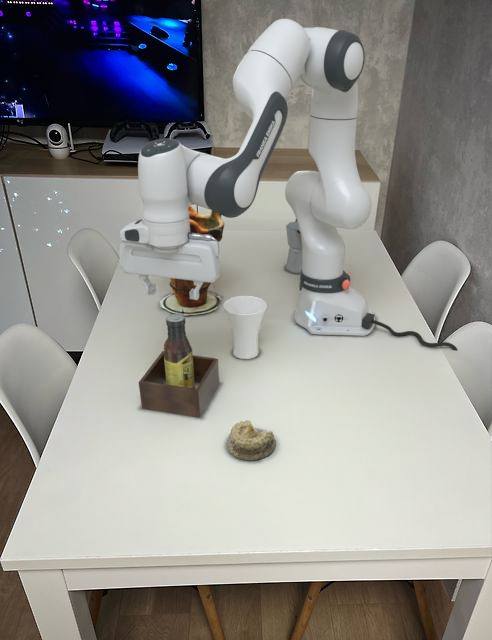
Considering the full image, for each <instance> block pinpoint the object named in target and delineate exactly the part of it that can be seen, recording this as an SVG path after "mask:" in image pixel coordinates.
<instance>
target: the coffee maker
mask: <svg viewBox="0 0 492 640" xmlns="http://www.w3.org/2000/svg"><path fill="white" fill-rule="evenodd" d="M285 230H286V239H287V245H288V247H289V248H288V253H287V259H286V264H285V271H287V272H288V273H291V274H298V275H300V271H301V269H302V239H301V234H300V230H299V226H298V223H297V219H296V218H295V220H294V221H290V222H288V223H287V224H285Z"/></svg>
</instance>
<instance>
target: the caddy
mask: <svg viewBox="0 0 492 640" xmlns="http://www.w3.org/2000/svg"><path fill="white" fill-rule="evenodd" d="M193 367H194V383H195V384H196V383H198V385H197V386H196V387H195V389H194V388H187V387H180V386H173V385H167V384H166V373H165V362H164V350H162V351H161V352H160V353H159V355H157V358H156V359H155V360H154V362H152V364H151V366H150V367H149V368H148V369H147V370H146V372H145V373H144V374H143V376H142V377H141V378H140V380H139V381H138V389H139V397H140V403H141V409H142V410H149V411H155V412H161V413H168V414H173V415H180V416H187V417H193V418H202V415H203V414H204V412H205V410H206V408H207V407H208V405H209V403H210V401H211V399H212V398H213V397H214V394H215V392H216V391H217V389H218V387H219V386H220V374H219V373H220V371H219V370H220V369H219V368H220V367H219V358H215V357H208V356H201V355H196V354H195V355H194V354H193Z"/></svg>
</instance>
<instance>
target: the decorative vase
mask: <svg viewBox="0 0 492 640" xmlns="http://www.w3.org/2000/svg"><path fill="white" fill-rule="evenodd" d="M188 210H189V219H190V233H198V234H203V235H205V234H208V235H211V236H212V237H213V238H215V239H216V240H217V241H218V242H219V243H220V242H221V241H222V240H223V234H224V229H225V222H224V221H223V219H222V215H220V214H218V213H216V212H214V211H212V210H210V213H205V214H202V213H198V212H197V211H196V209H194V208H193V206H192V205H190V206H189V208H188ZM212 240H213V239H212ZM169 279H170V282H169V286H170V288H171V290H172V293H170V294H168V295H166V296H163V297H162V299H161V300H160V301H159V303H160V305H159V307H161V308H162V309H164V310H166V311H167V312H170V313H172V314H181V315H183V316H184V317H186V316H191V315H193V316H196V315H197V316H198V315H203V314H208V313H211V312H213V311H216V310H217V309H218V304H220V303H221V300H222V298H221V296H220V295H216V293H212V292H210V291H208V290H209V287H210V286H211V284H212V283H209V282H203V284H202V286H201V288H200V289H199V298H198V300H191V299H190V295H189V292H190V291H191V289H195V288H196V286H197V285H194V281H192V280H183V279H175V278H169ZM213 288H214V290H215V292H217V290H216V289H215V286H213Z"/></svg>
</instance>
